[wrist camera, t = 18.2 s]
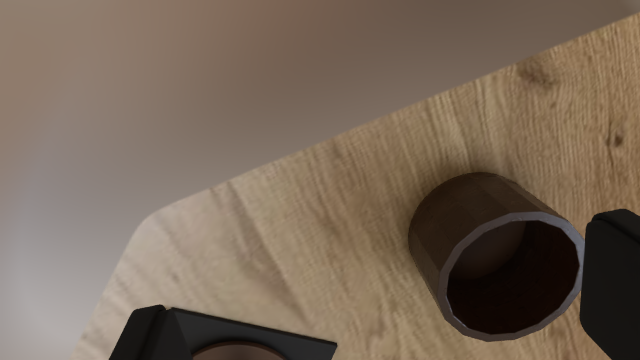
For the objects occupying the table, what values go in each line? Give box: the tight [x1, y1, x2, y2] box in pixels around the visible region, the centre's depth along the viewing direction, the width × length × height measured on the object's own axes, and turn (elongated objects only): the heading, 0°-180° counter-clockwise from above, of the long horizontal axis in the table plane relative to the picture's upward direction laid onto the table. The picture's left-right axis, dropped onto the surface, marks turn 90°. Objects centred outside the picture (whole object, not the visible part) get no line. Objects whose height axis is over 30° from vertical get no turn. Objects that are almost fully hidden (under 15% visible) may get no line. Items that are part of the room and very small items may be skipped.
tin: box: [408, 173, 585, 342], centre depth 38 cm, size 13×13×8 cm
